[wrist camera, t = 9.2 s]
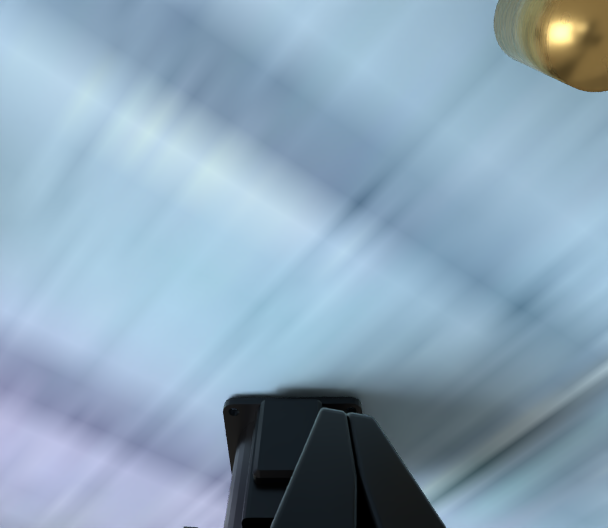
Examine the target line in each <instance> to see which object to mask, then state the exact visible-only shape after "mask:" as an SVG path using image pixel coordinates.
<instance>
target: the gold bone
mask: <svg viewBox="0 0 608 528" xmlns="http://www.w3.org/2000/svg"><path fill="white" fill-rule="evenodd" d="M494 31H495V36H496V39H497V42H498V44H499V46H500V47H501V49H502V50H503V51H504V52H505V53H506V54H507V55H508V56H509V57H511V58H512V59H514V60H516V61H518V62H520V63H523V64H525V65H527V66H529V67H531V68H533V69H535V70H538V71H540V72H542V73H544V74H546V75H548V76H550V77H553V78H555V79H557V80H559V81H561V82H563V83H565V84H567V85H570V86H572V87H574V88H576V89H579V90H583V91H588V92H602V91H608V0H499V1H498V4H497V6H496V10H495V15H494Z"/></svg>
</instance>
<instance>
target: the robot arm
mask: <svg viewBox="0 0 608 528" xmlns="http://www.w3.org/2000/svg"><path fill="white" fill-rule="evenodd" d="M350 407H353V409H348V408H350ZM231 408H236V409H237V410H234V409H231ZM223 415H224V422H225V430H226V437H227V444H228V451H229V458H230V465H231V472H232V478H231V485H230V491H229V497H228V503H227V510H226V516H225V522H224V528H446V526H445V525H444V523H443V522H442V520H441V519H440V517H439V516H438V514H437V513H436V511H435V510H434V508H433V507H432V505H431V504H430V502H429V501H428V499H427V498H426V496H425V495H424V493H423V492H422V490H421V489H420V487H419V486H418V484H417V482H416V481H415V479H414V478H413V476H412V475H411V473H410V472H409V470H408V469H407V467H406V466H405V464H404V463H403V461H402V460H401V458H400V457H399V455H398V454H397V452H396V451H395V449H394V448H393V446H392V445H391V443H390V442H389V440H388V439H387V437H386V436H385V434H384V432H383V431H382V429H381V428H380V426H379V425H378V423H377V422H376V420H375V419H374V418H373V417H371V416H369V415H364V414H362V408H361V402H360V401H359V400H358V399H356V398H353V397H309V398H231V399H228V400H227V401H226V402H225V404H224V409H223ZM184 528H198V527H184Z"/></svg>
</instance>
